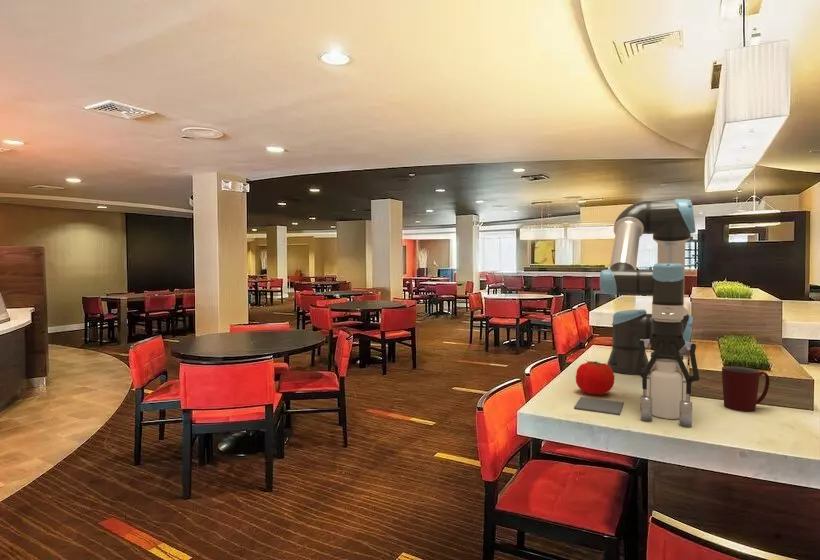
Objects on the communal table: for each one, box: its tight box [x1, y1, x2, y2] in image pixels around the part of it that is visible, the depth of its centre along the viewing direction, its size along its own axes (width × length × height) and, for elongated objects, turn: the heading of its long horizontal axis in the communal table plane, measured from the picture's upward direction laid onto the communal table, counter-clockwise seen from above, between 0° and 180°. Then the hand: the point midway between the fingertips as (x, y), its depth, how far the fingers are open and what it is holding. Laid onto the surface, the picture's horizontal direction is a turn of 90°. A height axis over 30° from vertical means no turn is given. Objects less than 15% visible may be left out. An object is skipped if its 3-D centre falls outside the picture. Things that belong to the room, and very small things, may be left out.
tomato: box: [575, 359, 615, 396], centre depth 152 cm, size 12×12×10 cm
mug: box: [721, 365, 770, 412], centre depth 137 cm, size 12×9×11 cm
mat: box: [573, 396, 625, 416], centre depth 139 cm, size 12×12×1 cm
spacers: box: [639, 388, 693, 428], centre depth 131 cm, size 17×12×6 cm
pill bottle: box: [649, 359, 684, 420], centre depth 130 cm, size 8×8×15 cm
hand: (665, 403), depth 131 cm, fingers closed on pill bottle, 8 cm apart
